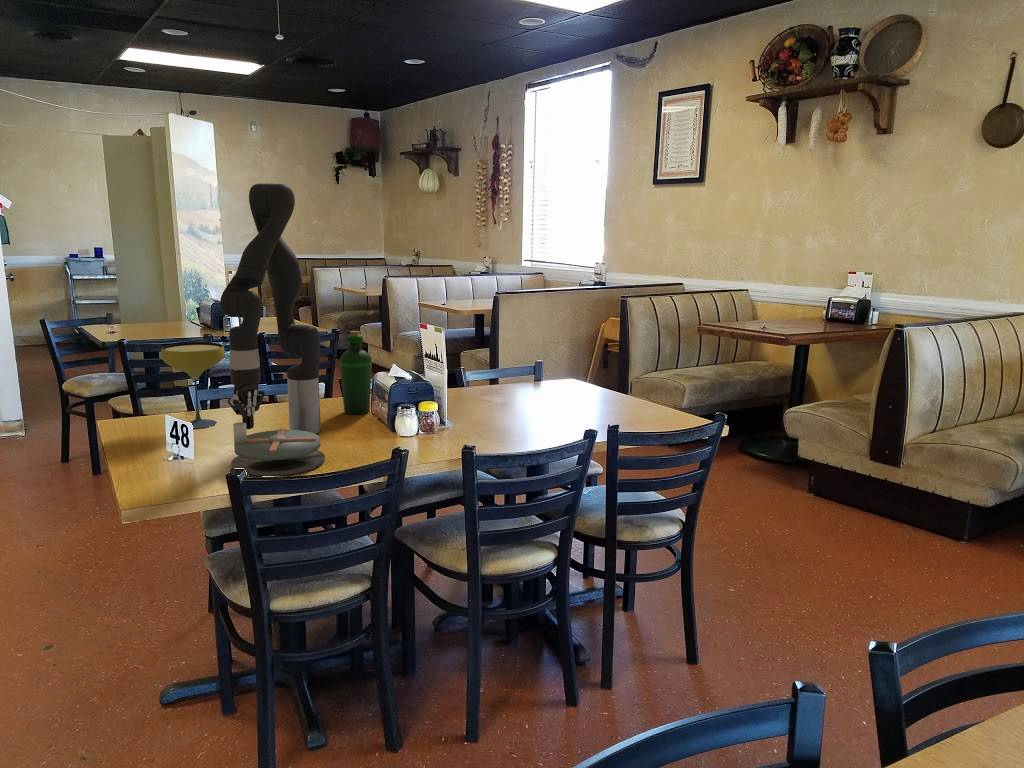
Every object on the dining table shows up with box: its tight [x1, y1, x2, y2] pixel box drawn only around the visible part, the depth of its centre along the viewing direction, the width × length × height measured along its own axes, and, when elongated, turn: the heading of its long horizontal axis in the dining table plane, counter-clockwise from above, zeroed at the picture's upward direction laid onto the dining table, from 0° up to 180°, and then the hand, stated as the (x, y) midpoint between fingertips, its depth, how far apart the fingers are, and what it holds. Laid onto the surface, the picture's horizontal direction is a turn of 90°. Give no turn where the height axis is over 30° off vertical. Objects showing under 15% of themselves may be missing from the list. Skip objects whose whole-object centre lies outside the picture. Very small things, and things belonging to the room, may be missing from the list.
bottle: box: [339, 330, 372, 416], centre depth 249 cm, size 11×11×28 cm
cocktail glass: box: [160, 341, 225, 430], centre depth 230 cm, size 18×18×25 cm
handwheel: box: [232, 421, 321, 460], centre depth 196 cm, size 22×22×7 cm
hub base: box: [230, 449, 326, 478], centre depth 197 cm, size 24×24×4 cm
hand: (248, 428), depth 198 cm, fingers closed
